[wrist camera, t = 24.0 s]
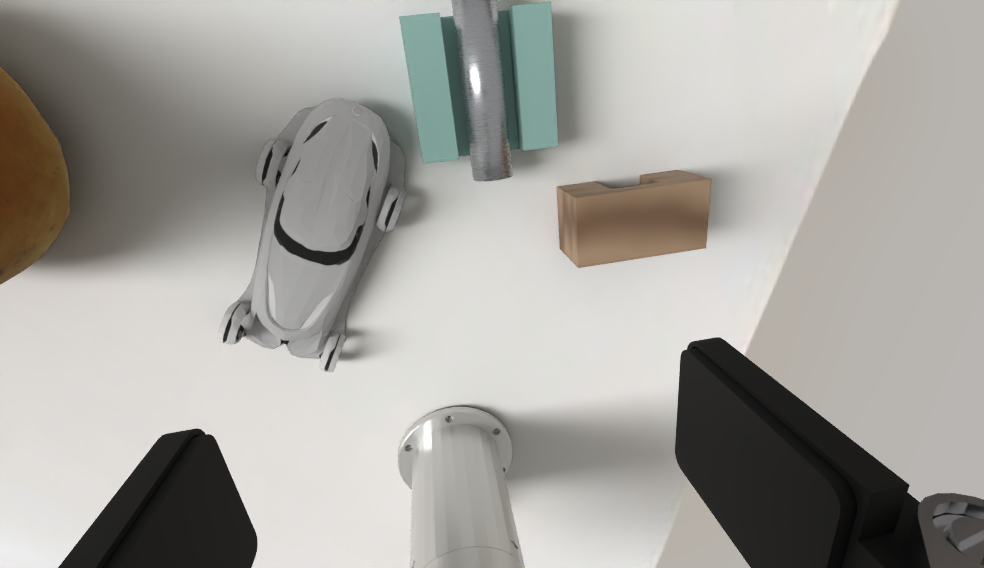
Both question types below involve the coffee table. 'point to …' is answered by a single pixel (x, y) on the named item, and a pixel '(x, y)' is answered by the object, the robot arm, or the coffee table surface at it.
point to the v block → (442, 87)
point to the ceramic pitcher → (28, 182)
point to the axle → (483, 87)
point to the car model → (318, 228)
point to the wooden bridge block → (633, 218)
